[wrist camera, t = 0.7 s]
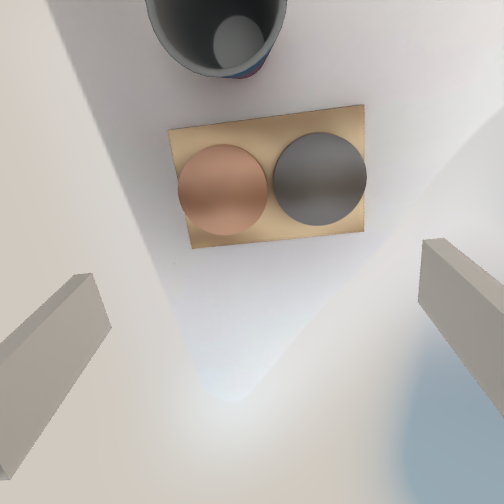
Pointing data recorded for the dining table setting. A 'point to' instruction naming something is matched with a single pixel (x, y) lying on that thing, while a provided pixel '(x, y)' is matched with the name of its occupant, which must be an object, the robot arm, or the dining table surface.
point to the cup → (218, 33)
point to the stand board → (272, 177)
